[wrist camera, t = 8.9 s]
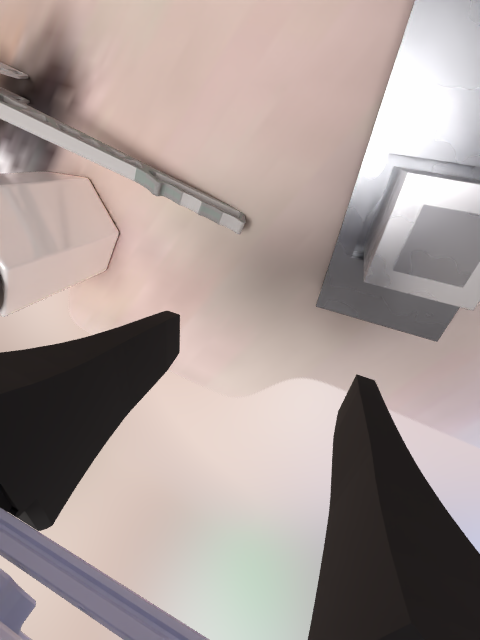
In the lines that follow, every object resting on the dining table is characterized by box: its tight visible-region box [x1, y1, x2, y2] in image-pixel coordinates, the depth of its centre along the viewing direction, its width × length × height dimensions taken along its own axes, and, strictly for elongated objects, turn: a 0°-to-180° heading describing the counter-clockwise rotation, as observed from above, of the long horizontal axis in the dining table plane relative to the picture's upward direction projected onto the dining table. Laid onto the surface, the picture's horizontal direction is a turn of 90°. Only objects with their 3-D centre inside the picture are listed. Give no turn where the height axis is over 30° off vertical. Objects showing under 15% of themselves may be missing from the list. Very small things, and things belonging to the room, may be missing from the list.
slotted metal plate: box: [316, 0, 480, 341], centre depth 12 cm, size 7×22×2 cm, turn 172°
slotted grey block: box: [364, 166, 480, 310], centre depth 12 cm, size 4×4×6 cm
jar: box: [0, 171, 119, 317], centre depth 20 cm, size 9×8×12 cm
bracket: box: [0, 62, 246, 234], centre depth 19 cm, size 3×21×10 cm, turn 64°
